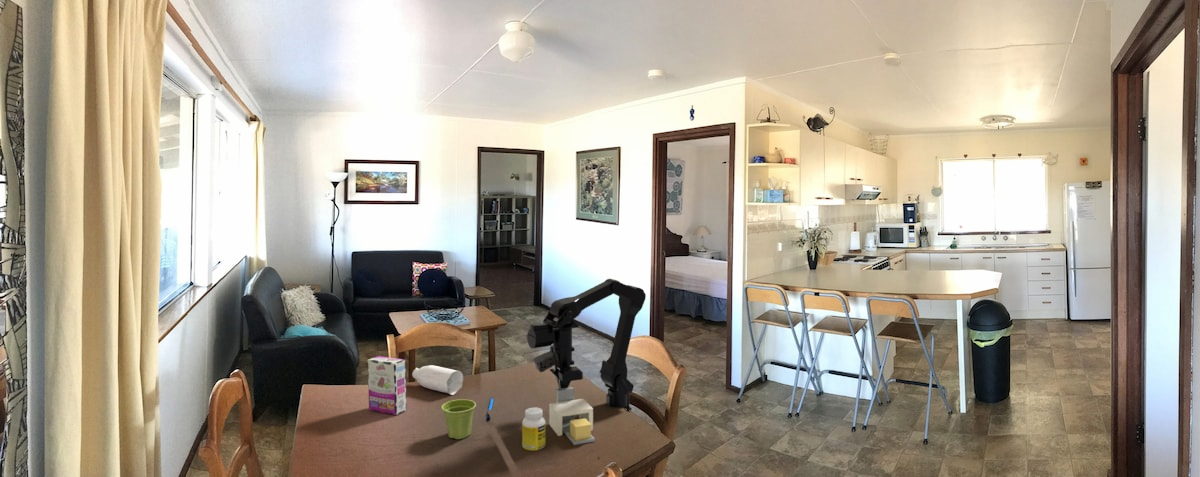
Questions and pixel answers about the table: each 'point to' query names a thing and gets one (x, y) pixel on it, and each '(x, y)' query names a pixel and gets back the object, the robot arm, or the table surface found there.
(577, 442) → the bracket
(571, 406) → the tunnel
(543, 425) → the pill bottle
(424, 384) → the white plastic bottle
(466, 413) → the plant pot
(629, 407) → the robot arm
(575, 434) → the block
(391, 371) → the candy bar box
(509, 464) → the table surface
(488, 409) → the pen
